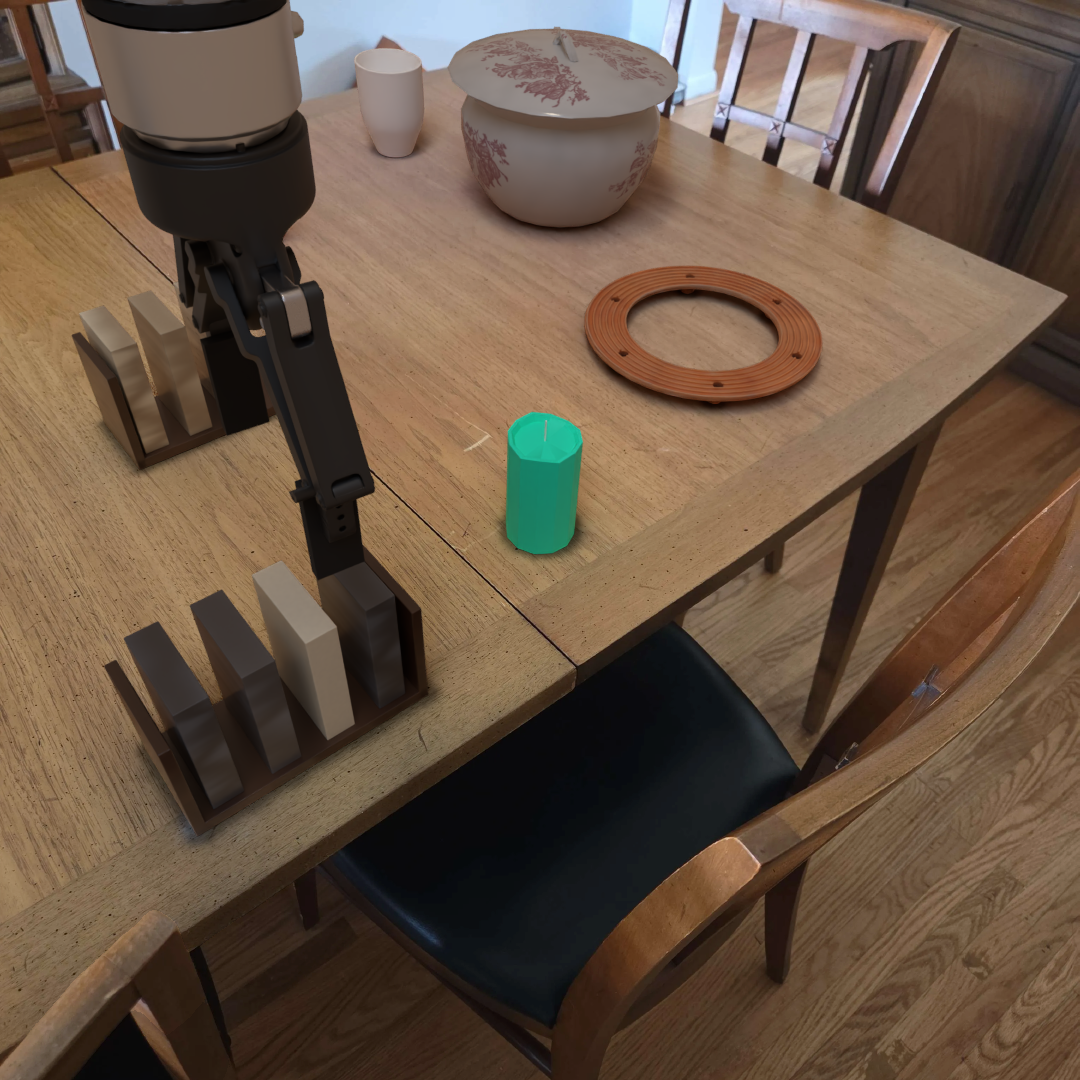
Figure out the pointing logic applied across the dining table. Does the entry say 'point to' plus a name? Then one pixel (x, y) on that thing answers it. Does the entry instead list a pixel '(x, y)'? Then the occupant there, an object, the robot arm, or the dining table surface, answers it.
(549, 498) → the candle
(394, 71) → the mug
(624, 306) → the ring
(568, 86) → the chamber pot
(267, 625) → the cream book
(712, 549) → the dining table surface
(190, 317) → the cream rack
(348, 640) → the grey rack
